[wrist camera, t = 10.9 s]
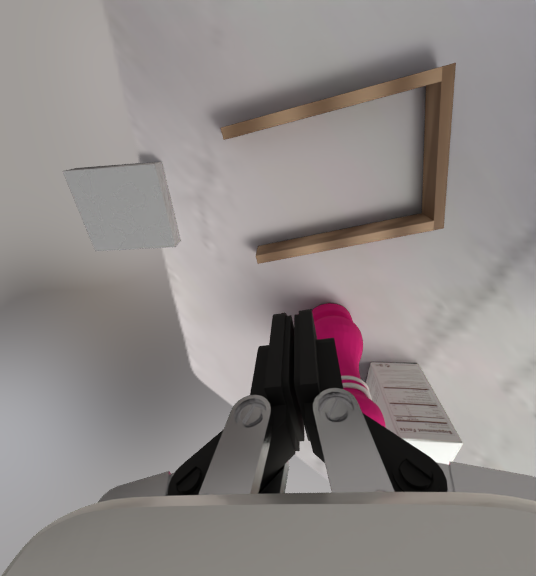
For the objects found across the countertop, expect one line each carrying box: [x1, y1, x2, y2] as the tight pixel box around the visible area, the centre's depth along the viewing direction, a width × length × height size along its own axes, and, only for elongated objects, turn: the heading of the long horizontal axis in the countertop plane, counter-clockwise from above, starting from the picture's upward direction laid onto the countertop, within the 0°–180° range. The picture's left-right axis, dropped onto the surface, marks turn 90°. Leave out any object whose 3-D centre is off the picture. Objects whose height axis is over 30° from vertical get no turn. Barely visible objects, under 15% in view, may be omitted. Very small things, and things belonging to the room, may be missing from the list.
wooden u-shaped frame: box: [221, 63, 456, 264], centre depth 29 cm, size 20×14×3 cm
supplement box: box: [366, 362, 463, 465], centre depth 39 cm, size 7×7×13 cm
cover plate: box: [63, 162, 181, 251], centre depth 32 cm, size 10×9×2 cm
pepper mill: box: [312, 303, 386, 428], centre depth 31 cm, size 7×7×20 cm
